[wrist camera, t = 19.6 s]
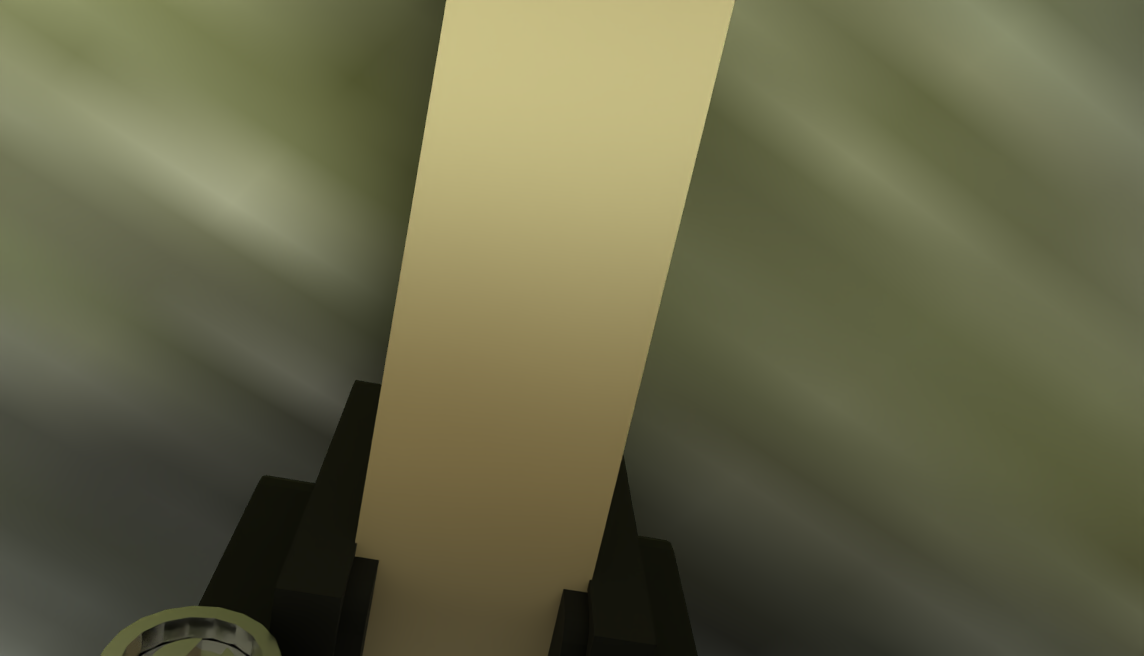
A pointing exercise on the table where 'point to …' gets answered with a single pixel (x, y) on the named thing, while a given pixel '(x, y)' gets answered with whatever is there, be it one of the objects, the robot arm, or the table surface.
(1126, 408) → the table surface
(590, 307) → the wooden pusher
